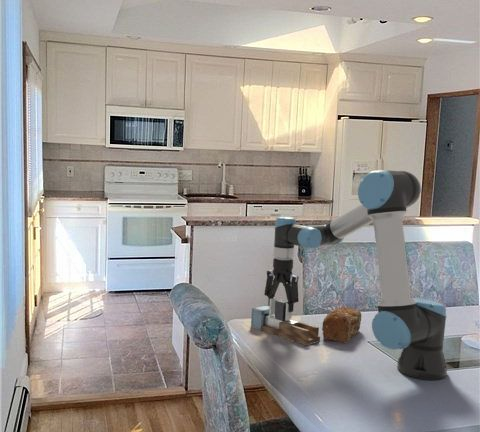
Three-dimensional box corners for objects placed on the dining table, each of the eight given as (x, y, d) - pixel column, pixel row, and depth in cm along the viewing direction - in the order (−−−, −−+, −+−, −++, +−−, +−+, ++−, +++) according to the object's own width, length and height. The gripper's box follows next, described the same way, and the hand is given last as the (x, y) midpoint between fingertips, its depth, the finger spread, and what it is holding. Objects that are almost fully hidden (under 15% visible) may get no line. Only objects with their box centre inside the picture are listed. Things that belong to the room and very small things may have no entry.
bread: (348, 344, 203) (350, 318, 202) (320, 339, 208) (321, 313, 207) (361, 331, 220) (363, 306, 219) (335, 326, 224) (336, 302, 223)
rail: (320, 340, 206) (320, 327, 205) (306, 345, 200) (307, 331, 199) (264, 323, 224) (265, 310, 223) (250, 326, 218) (251, 314, 218)
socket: (274, 326, 221) (275, 307, 220) (260, 330, 215) (261, 310, 214) (264, 323, 224) (265, 304, 223) (250, 326, 218) (251, 308, 217)
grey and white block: (298, 331, 210) (299, 303, 209) (291, 333, 207) (293, 305, 206) (265, 321, 221) (267, 294, 220) (259, 323, 218) (260, 296, 217)
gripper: (311, 261, 206) (307, 321, 209) (269, 252, 220) (266, 309, 223) (298, 263, 201) (294, 325, 203) (256, 254, 215) (253, 313, 217)
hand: (279, 317), depth 213 cm, fingers open, 7 cm apart
